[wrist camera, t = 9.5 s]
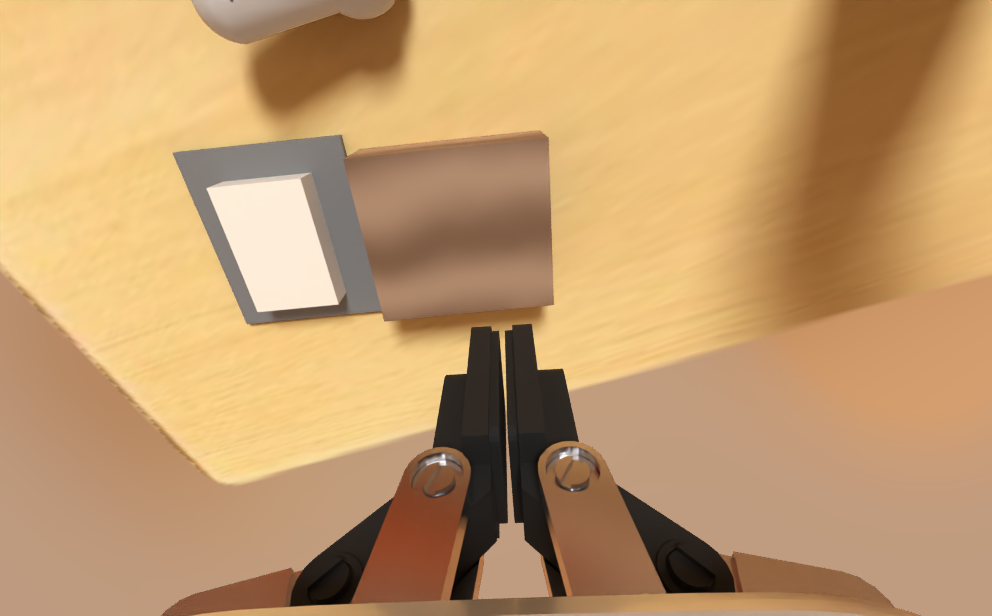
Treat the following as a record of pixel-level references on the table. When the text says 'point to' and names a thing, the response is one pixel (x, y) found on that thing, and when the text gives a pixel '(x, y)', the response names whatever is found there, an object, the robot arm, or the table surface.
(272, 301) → the tile
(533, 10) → the table surface
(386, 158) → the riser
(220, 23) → the clip-on lamp
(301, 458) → the table surface
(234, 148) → the mat
